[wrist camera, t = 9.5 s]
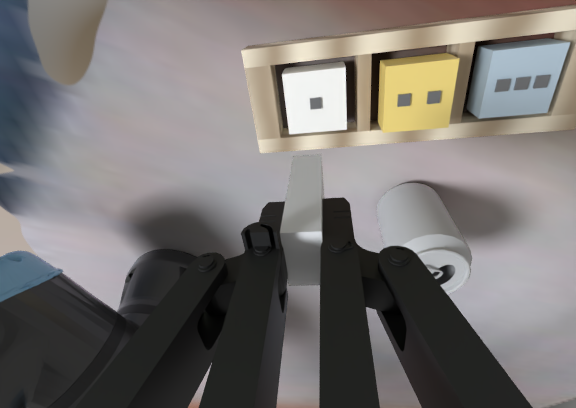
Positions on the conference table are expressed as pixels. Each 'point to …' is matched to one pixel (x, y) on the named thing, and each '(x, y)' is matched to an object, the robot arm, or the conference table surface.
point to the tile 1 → (315, 97)
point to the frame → (455, 34)
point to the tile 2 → (416, 92)
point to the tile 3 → (515, 77)
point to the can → (425, 232)
